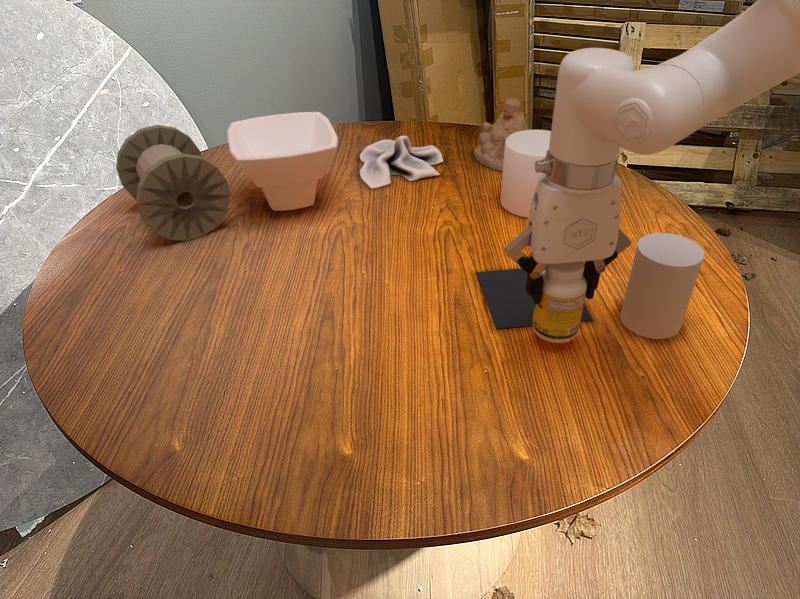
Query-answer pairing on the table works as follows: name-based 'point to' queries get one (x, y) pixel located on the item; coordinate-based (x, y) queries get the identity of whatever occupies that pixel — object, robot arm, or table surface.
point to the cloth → (397, 161)
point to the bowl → (284, 155)
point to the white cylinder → (522, 169)
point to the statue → (499, 135)
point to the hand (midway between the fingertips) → (560, 294)
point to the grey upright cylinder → (661, 284)
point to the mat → (511, 298)
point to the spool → (172, 183)
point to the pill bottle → (560, 302)
